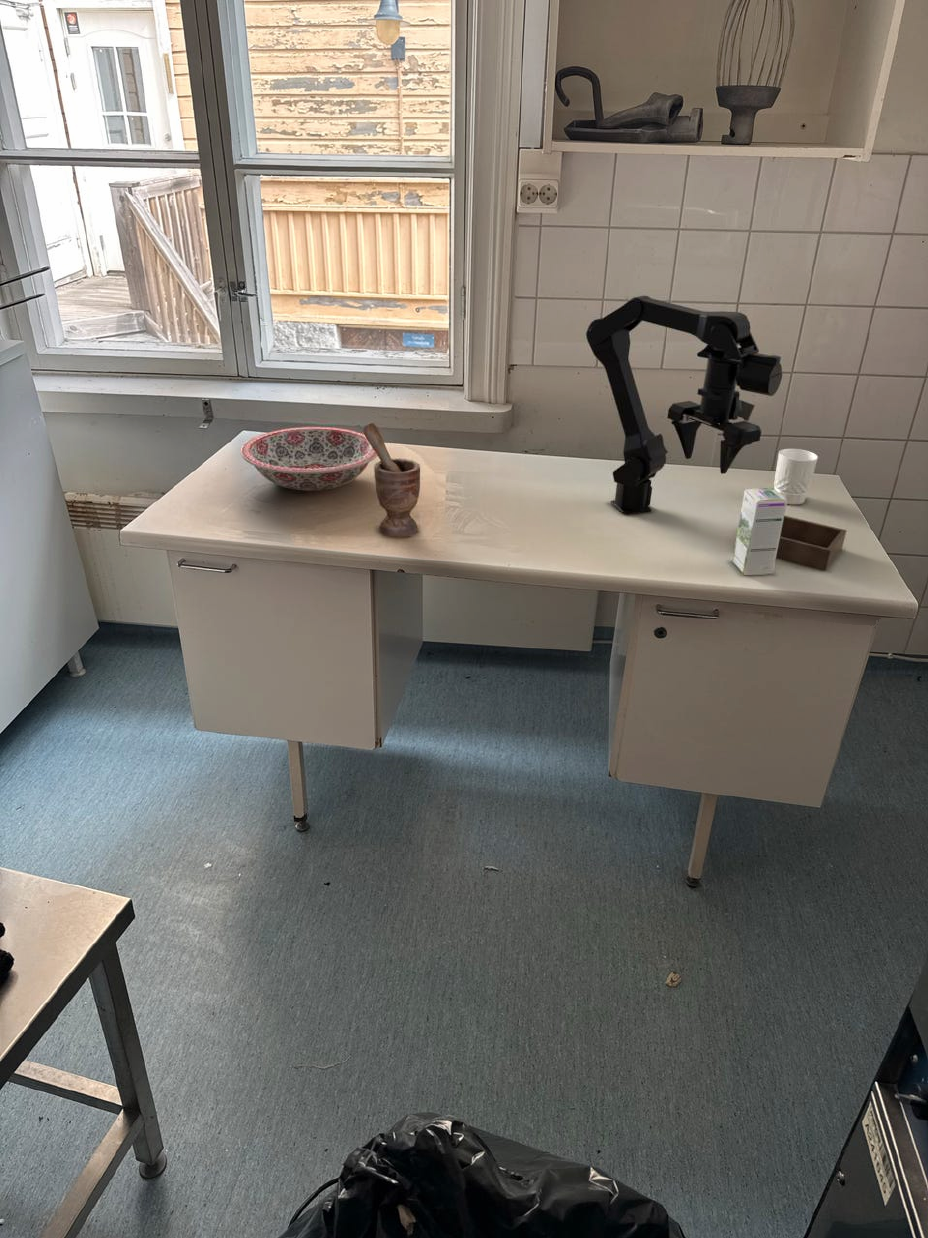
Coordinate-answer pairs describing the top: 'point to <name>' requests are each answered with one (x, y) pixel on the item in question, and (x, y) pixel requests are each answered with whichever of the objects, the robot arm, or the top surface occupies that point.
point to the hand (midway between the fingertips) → (705, 465)
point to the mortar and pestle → (394, 487)
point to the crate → (810, 534)
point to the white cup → (794, 474)
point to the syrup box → (759, 531)
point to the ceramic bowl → (309, 456)
